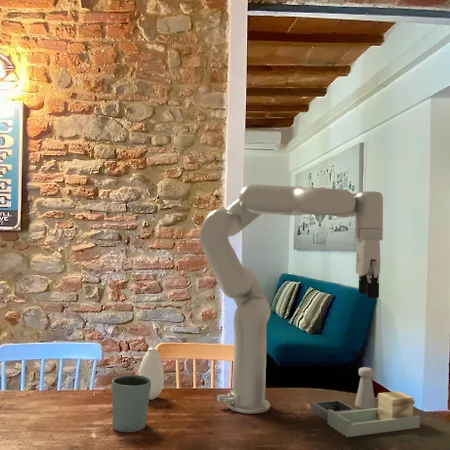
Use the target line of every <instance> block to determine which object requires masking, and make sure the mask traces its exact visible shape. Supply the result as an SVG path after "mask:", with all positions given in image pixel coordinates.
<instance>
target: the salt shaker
mask: <svg viewBox="0 0 450 450" xmlns="http://www.w3.org/2000/svg"><path fill="white" fill-rule="evenodd" d="M374 374H375V372H374V369H373V368H371V367H367V366H363V367H359V368H358V376H360V379H359V383H358V387H357V388H358V389H357V394H356V397H355V402H354V406H355V409H357V410H363V409H372V408H377V406H376V399H375V393H374V392H375V391H374V385H373V380H372V379H373V377H374V376H375V375H374Z"/></svg>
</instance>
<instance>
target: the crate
mask: <svg viewBox="0 0 450 450" xmlns="http://www.w3.org/2000/svg"><path fill="white" fill-rule="evenodd" d="M376 399H378V401H377V408H378V411H377V414H378V419H380V420H385V419H393V418H401V417H409V416H414V405H415V403H416V402H415V401H416V400H414V397H413V396H411V395H408V394H406V393H403V392H401V391H399V390H398V391H389V392H387V391H386V392H378V394H377V396H376Z"/></svg>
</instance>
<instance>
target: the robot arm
mask: <svg viewBox="0 0 450 450" xmlns="http://www.w3.org/2000/svg"><path fill="white" fill-rule="evenodd" d="M238 195H239V196H238V199H237V200H235V201H234V202H233V203H232V204H230V205H229V206H228V207H227V208H221V207H220V208H216V209H214V210H212V211H211V212H210V213H208V214H207V216H206V217H205V218H204V220H203V222H202V224H201V227H200V231H199V240H200V245H201V249H202V251H203V253H204V255H205V257H206V260H207V261H208V263H209V266H210V268H211V270H212V273H213V274H214V276H215V279H216V280H217V282H218V285H219V287H220V289H221V291H222V293H223V294H224V295H225V296H226V297H227V298H230V299H233V301H234V303H235V306H236V308H235V311H234V315H233V335H234V337H233V339H234V340H233V341H234V342H233V343H234V344H233V377H232V378H233V379H232V380H233V381H232V383H233V384H232V389H229V392H228V393H227V394H217V396H216V400H217V402H219V403H220V402H224V404H226V405H227V408H228V409H229V410H231V411H234V412H237V413H241V414H255V415H256V414H262V413H265V412H268V411H269V410H270V408H271V403H270V402H269V401H268V400H266V372H267V369H266V368H267V323H268V322H269V320H270V317H271V313H272V309H271V306H270V303H269V301H268V299H267V297H266V295H265V293H264V291H263V289H262V287H261V285H260V284H259V281H258V280H257V277H256V276H255V274H254V273H253V272H252V270H251V269H250V268H248V267H247V266H244V265H242V262H241V261H240V259H239V258H238V256H237V254H236V251H235V249H234V247H233V246H232V244H231V242H230V239H229V237H233V236H235V235H237V234H239V233H240V232H241V231H242V230H244V229H245V228H246V227H247V226H249V225H250V224H251V223H253V222H254V221H255V220H257V218H259V217H261V215H262V214H266V215H278V216H279V215H281V216H293V217H294V216H302V215H315V216H316V215H318V216H333V217H336V218H349V217H350V218H351V217H355V220H354V222H355V228H354V230H355V232H354V233H355V236H354V237H355V241H356V243H357V244H356V253H355V254H356V257H355V273H356V274H358V293H359V294H361V295H365V294H366V298H368V299H379V297H380V274H381V245H380V244H381V242H380V241H383V238H384V235H383V234H384V233H383V232H384V229H383V228H384V226H383V225H384V196H383V194H382V193H381V192H379V191H372V190H371V191H359V192H357V193H356V192H355V193H353V192H350V191H349V190H347V189H342V188H328V187H327V188H325V187H304V186H291V185H290V186H289V185H288V186H287V185H286V186H285V185H273V184H272V185H271V184H268V185H267V184H256V183H255V184H248V185H245V186H244V187H243V188H242V189H241V190H240V192H239V194H238Z"/></svg>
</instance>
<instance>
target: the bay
mask: <svg viewBox="0 0 450 450" xmlns="http://www.w3.org/2000/svg"><path fill="white" fill-rule="evenodd" d="M335 411H336V410H331V409H330V410H328V422H327V425H328V426H329V425H330V426H329V427H331V428H332V427H333V428H332V429H334V430H335V431H337V432H338V433H340V434H341V435H343V436H344V435H345V437H346V438H350V437H357V436H364V435H365V436H366V435H373V434H381V433H388V432H396V431H403V430H405V431H406V430H412V429H417V428H420V427H421V425H420V424H421V422H420V419H421V416H420V415H413V416H409V417H401V418H393V419H385V420H380V419H378V414H377V411H378V407H375V408H372V409H363V410H354V411H345V412H335Z"/></svg>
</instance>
